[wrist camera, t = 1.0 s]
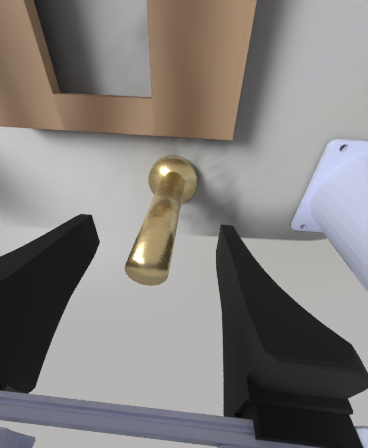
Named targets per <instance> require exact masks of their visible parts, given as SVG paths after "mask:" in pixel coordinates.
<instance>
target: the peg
mask: <svg viewBox="0 0 368 448" xmlns="http://www.w3.org/2000/svg"><path fill="white" fill-rule="evenodd" d="M149 186H150V189H151V191H152V192H153V194H154V197H153V200H152V202H151V204H150V207H149V209H148V212H147V214H146V216H145V219H144V221H143V224H142V226H141V229H140V231H139V233H138V236H137V238H136V241H135V243H134V245H133V248H132V251H131V253H130V255H129V258H128V260H127V262H126V265H125V271H126V273H127V275H128V276H129V277H130V278H131V279H132V280H134V281H135V282H138V283H140V284H143V285H159V284H161V283H163V282H165V281H166V279H167V278H168V273H169V267H170V262H171V257H172V251H173V246H174V240H175V235H176V229H177V224H178V218H179V213H180V207H181V203H183V202H185V201H187V200H189V199H190V198H191V197H192V196H193V194H194V193H195V191H196V187H197V174H196V171H195V169H194V167H193V166H192V164H191V163H190V162H189V161H187V160H186V159H184V158H182V157H179V156H166V157H163V158H161V159H160V160H158V161H157V162H156V163H155V164H154V166H153V168H152V169H151V171H150V174H149Z"/></svg>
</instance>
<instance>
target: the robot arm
mask: <svg viewBox="0 0 368 448" xmlns="http://www.w3.org/2000/svg"><path fill="white" fill-rule="evenodd" d="M344 144H345V147H344V148H343V149H342V150H340V147H341V146H342V145H344ZM304 224H305V225H304ZM301 225H304V226H301ZM291 227H292V229H293V230H299V231H311V232H323V233H324V234H325V235H326V237H327V238H328V239H329V241H330V242H331V244H332V245H333V246H334V247H335V249H336V250H337V252H338V253H339V254H340V256H341V257H342V258H343V260H344V261H345V262H346V264H347V265H348V267H349V268H350V269H351V271H352V272H353V273H354V275H355V276H356V277H357V279H358V280H359V281H360V283H361V284H362V286H363V287H364V288H365V290H366V291H367V292H368V141H367V140H350V139H334V140H332V141H330V142H329V143H328V145H327V146H326V149H325V151H324V153H323V155H322V157H321V159H320V162H319V164H318V166H317V168H316V170H315V173H314V175H313V177H312V179H311V181H310V183H309V186H308V188H307V190H306V192H305V194H304V196H303V199H302V201H301V203H300V205H299V207H298V210H297V212H296V214H295V216H294V218H293V220H292V223H291ZM99 242H100V241H99V238H98V235H97V231H96V228H95V225H94V221H93V218H92V215H86V214H80V215H78V216H76V217H74V218H72V219H71V220H69V221H67V222H65V223H64V224H62V225H60V226H58V227H57V228H55V229H53V230H51V231H50V232H48V233H46V234H44V235H43V236H41V237H39V238H37V239H35V240H33V241H31V242H30V243H28V244H26V245H24V246H22V247H20V248H18V249H16V250H14V251H12V252H10V253H7V254H5V255H3V256H1V257H0V420H5V421H12V422H20V423H29V424H37V425H45V426H54V427H62V428H69V429H78V430H86V431H94V432H102V433H110V434H119V435H127V436H135V437H144V438H151V439H159V440H168V441H176V442H184V443H192V444H201V445H209V446H216V447H218V448H368V426H355V427H354V425H353V423H352V420H351V418H350V416H349V415H351V414H353V410H352V407H351V405H350V403H349V401H348V398H350V397H352V396H354V395H356V394H358V393H360V392H362V391H364V390H366V389H367V388H368V373H367V371H366V369H365V367H364V365H363V363H362V361H361V359H360V358H359V356H358V354H357V353H356V351H355V350H354V348H353V346H352V345H351V344H350V343H349V342H347V341H346V340H345V339H343V338H341V337H340V336H339V335H338V334H336V333H335V332H333V331H332V330H331V329H329V328H328V327H326V326H325V325H324V324H322V323H321V322H320V321H319V320H317V319H316V318H315V317H314V316H312V315H311V314H310V313H308V312H307V311H306V310H305V309H304V308H302V307H301V306H300V305H299V304H298V303H297V302H295V301H294V300H293V299H292V298H291V297H290V296H289V295H288V294H287V293H286V292H284V290H282V289H281V288H280V287H279V286H278V285H277V284H276V283H275V282H274V280H272V278H271V277H270V276H269V275H268V274H267V273H266V272H265V271H264V269H263V268H262V267H261V266H260V265H259V263H258V262H257V261H256V260H255V258H254V257H253V256H252V254H251V253H250V251H249V250H248V249H247V247H246V246H245V244H244V243H243V241H242V240H241V238H240V237H239V235H238V233H237V232H236V230H235V228H234V227H233V226H231V225H221V228H220V233H219V239H218V244H217V249H216V269H217V278H218V285H219V292H220V300H221V308H222V328H223V368H224V369H223V371H224V417H222V416H214V415H206V414H197V413H189V412H180V411H172V410H163V409H154V408H145V407H137V406H129V405H120V404H111V403H103V402H93V401H85V400H77V399H68V398H60V397H51V396H43V395H34V394H28V393H29V392H31V391H32V390H33V389H34V388H35V386H36V383H37V380H38V377H39V374H40V371H41V368H42V365H43V362H44V360H45V357H46V354H47V351H48V349H49V346H50V343H51V341H52V338H53V336H54V333H55V331H56V329H57V326H58V323H59V321H60V319H61V317H62V314H63V312H64V310H65V308H66V306H67V303H68V301H69V299H70V297H71V295H72V293H73V292H74V290H75V288H76V287H77V285H78V283H79V282H80V280H81V277H82V276H83V275H84V273H85V271H86V270H87V268H88V266H89V265H90V263H91V261H92V259H93V257H94V255H95V253H96V251H97V248H98V245H99ZM34 442H35V437H32V436H28V435H24V434H21V433H17V432H14V431H11V430H9V429H7V428H3V427H0V448H32V447H33V445H34Z"/></svg>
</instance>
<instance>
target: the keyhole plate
mask: <svg viewBox="0 0 368 448" xmlns="http://www.w3.org/2000/svg"><path fill="white" fill-rule="evenodd" d="M256 2H257V0H147V11H148V30H149V49H150V67H151V86H152V97H132V96H113V95H93V94H73V93H60V90H59V86H58V83H57V79H56V76H55V72H54V69H53V65H52V62H51V58H50V55H49V52H48V48H47V45H46V41H45V38H44V34H43V31H42V27H41V24H40V20H39V17H38V13H37V10H36V6H35V3H34V0H0V126H2V127H19V128H36V129H52V130H69V131H86V132H102V133H119V134H136V135H153V136H169V137H186V138H203V139H219V140H232V139H233V134H234V128H235V122H236V117H237V111H238V105H239V99H240V94H241V88H242V82H243V77H244V71H245V65H246V59H247V54H248V48H249V42H250V37H251V31H252V25H253V19H254V14H255V8H256Z"/></svg>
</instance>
